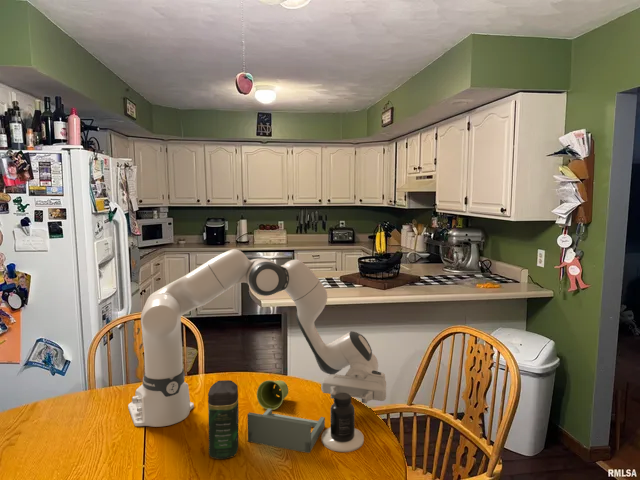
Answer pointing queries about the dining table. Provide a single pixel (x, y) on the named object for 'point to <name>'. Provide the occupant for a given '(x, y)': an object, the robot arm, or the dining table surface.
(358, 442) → the white round glossy part
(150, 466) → the dining table surface
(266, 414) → the cold frame
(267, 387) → the plant pot
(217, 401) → the coffee jar
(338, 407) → the supplement bottle
